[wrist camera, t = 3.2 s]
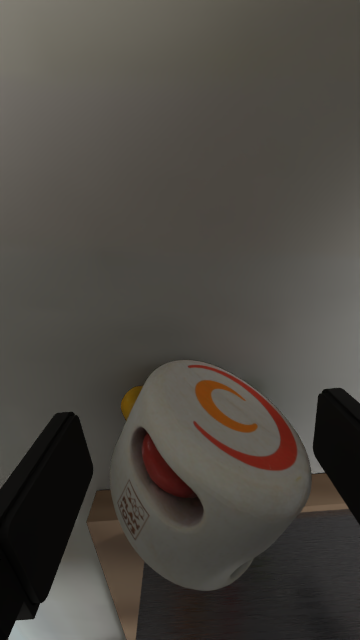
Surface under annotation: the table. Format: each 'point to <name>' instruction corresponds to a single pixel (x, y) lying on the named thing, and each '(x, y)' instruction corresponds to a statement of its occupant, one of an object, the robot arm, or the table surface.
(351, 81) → the table surface
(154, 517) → the roller toy
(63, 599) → the table surface
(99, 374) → the table surface
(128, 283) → the table surface
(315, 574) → the bookend
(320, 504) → the shelf
